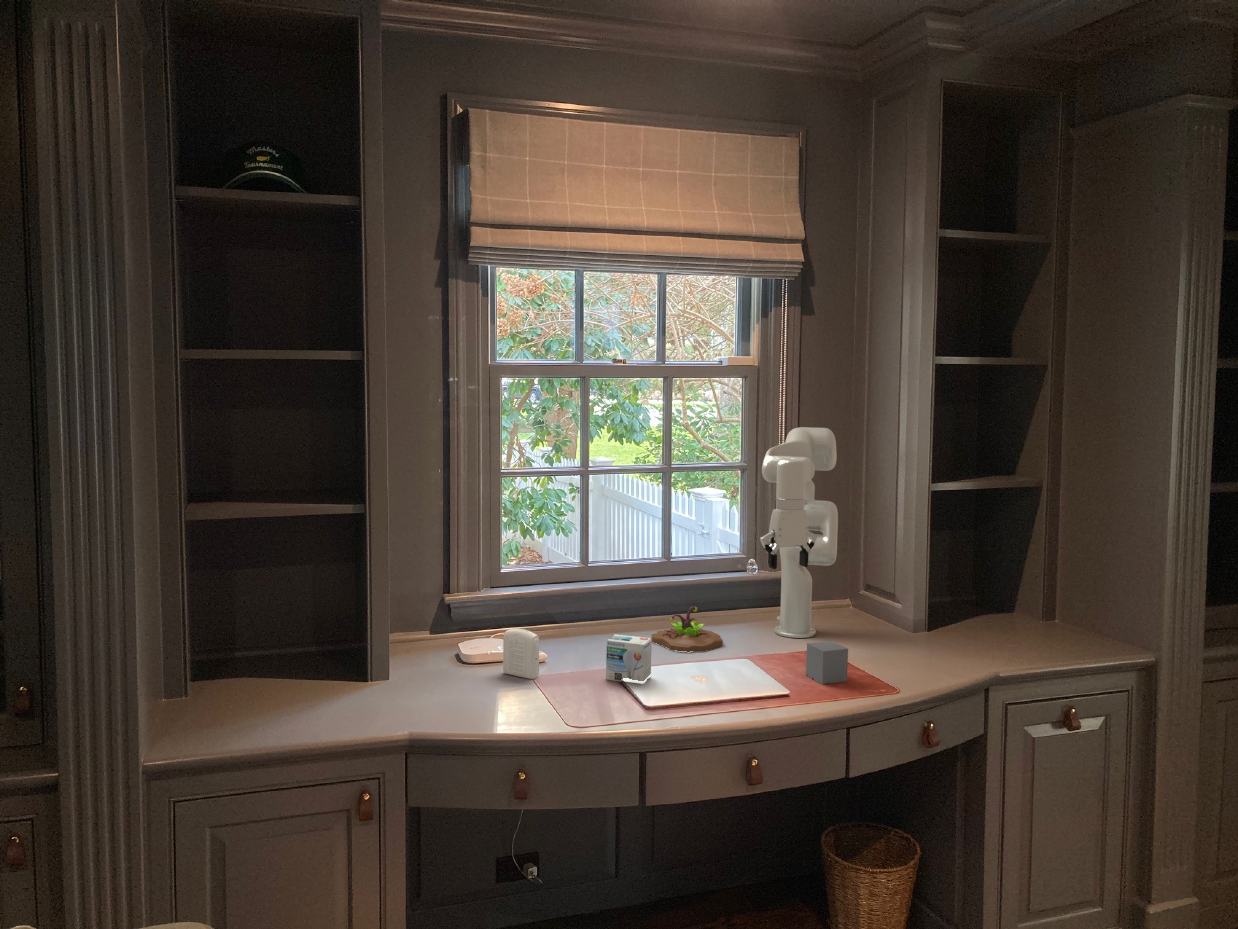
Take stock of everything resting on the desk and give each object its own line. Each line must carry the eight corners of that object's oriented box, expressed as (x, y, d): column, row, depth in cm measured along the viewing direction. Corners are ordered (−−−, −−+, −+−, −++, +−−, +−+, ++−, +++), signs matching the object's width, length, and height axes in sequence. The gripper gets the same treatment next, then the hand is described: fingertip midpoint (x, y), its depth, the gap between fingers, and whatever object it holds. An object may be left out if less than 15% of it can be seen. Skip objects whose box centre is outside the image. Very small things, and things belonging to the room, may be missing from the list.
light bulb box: (605, 680, 240) (605, 639, 239) (614, 672, 246) (614, 633, 246) (643, 685, 237) (644, 644, 236) (651, 677, 243) (652, 637, 242)
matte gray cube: (805, 675, 246) (806, 643, 245) (830, 672, 249) (831, 640, 248) (822, 684, 239) (823, 651, 238) (846, 681, 242) (848, 648, 241)
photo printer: (541, 676, 243) (541, 630, 241) (532, 680, 239) (532, 634, 238) (510, 669, 248) (510, 625, 247) (500, 674, 244) (500, 628, 243)
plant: (734, 647, 273) (735, 610, 272) (681, 657, 262) (682, 619, 261) (694, 631, 290) (694, 596, 289) (642, 640, 279) (643, 604, 278)
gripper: (809, 501, 254) (807, 562, 256) (755, 504, 248) (753, 566, 250) (825, 505, 247) (822, 567, 249) (769, 507, 241) (767, 571, 243)
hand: (788, 567), depth 249 cm, fingers open, 9 cm apart
